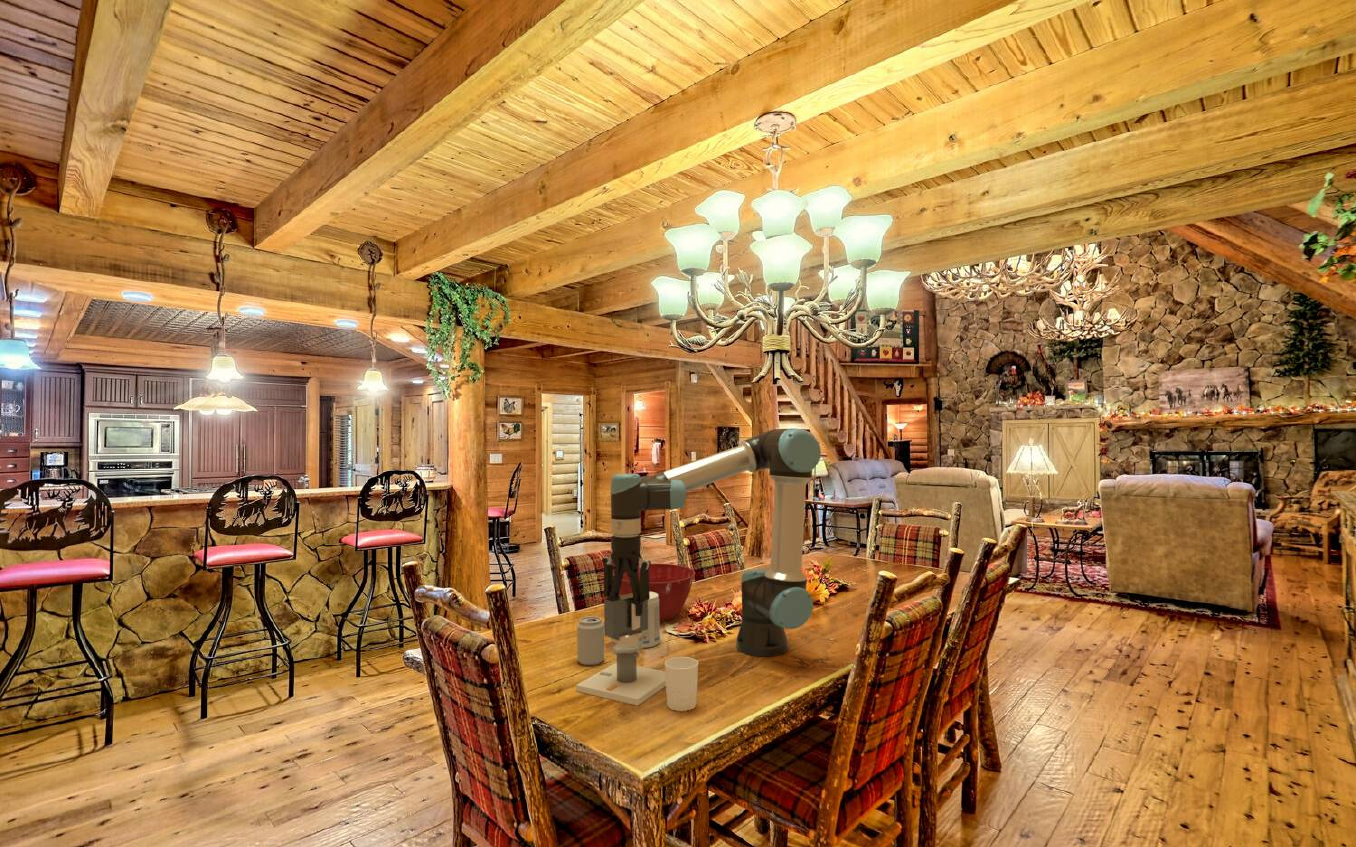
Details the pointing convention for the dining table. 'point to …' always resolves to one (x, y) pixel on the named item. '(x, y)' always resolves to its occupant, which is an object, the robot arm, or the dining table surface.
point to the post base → (624, 689)
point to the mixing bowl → (665, 587)
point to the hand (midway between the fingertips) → (626, 626)
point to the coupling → (623, 624)
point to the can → (590, 640)
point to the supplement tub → (652, 622)
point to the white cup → (681, 683)
